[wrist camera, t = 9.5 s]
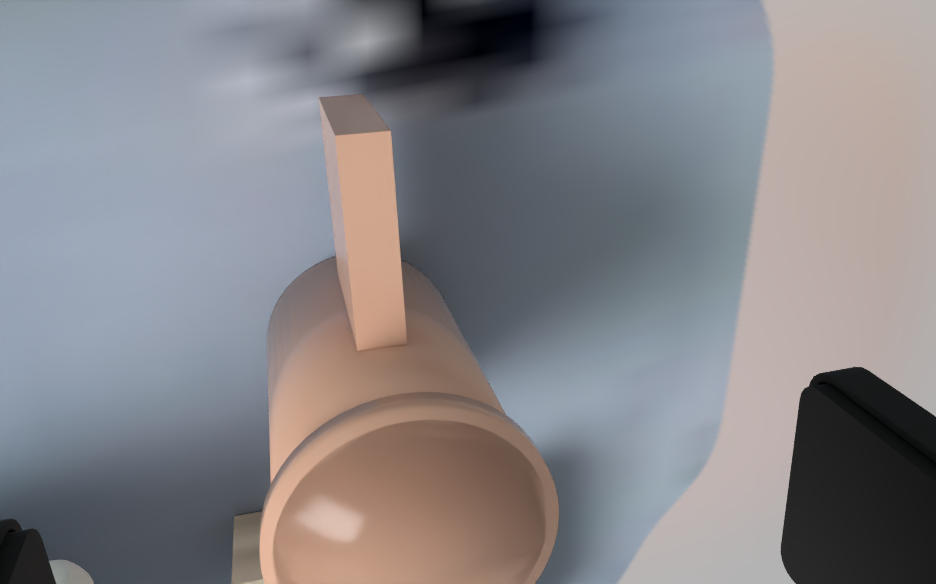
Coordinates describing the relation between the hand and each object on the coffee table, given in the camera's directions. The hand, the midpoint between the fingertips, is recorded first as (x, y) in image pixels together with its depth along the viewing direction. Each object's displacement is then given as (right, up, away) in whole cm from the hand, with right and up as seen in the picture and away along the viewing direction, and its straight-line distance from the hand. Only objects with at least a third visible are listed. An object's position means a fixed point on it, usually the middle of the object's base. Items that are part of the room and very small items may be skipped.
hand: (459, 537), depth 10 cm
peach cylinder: (-4, +4, +20) cm, 21 cm away
